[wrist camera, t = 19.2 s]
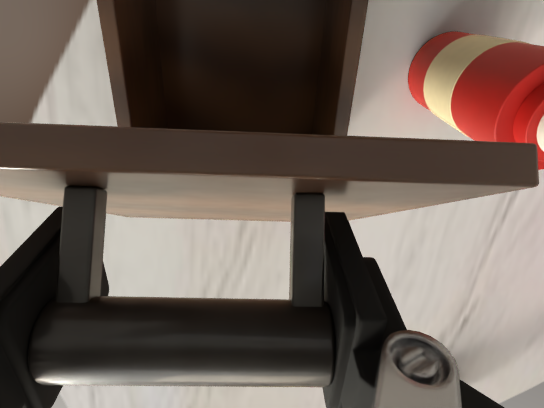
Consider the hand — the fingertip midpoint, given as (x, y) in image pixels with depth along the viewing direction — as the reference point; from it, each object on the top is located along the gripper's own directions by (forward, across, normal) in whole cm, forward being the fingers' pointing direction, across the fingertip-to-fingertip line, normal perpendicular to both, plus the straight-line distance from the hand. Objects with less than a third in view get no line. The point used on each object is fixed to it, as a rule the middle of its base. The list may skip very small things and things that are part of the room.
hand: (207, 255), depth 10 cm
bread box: (+19, 0, -3) cm, 19 cm away
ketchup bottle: (+19, -15, -2) cm, 25 cm away
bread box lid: (+4, 0, 0) cm, 4 cm away
